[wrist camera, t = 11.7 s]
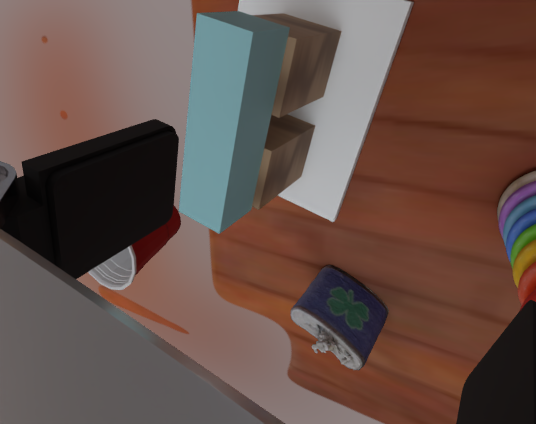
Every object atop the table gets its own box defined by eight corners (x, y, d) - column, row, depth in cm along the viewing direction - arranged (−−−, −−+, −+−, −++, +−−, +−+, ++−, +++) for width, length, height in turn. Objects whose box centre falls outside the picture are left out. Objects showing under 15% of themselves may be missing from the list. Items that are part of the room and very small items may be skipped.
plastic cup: (200, 200, 55) (133, 241, 46) (190, 258, 61) (130, 305, 52) (140, 166, 58) (67, 198, 49) (137, 225, 65) (71, 263, 55)
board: (251, -41, 39) (245, -42, 38) (414, 2, 33) (411, 2, 33) (220, 163, 51) (215, 165, 50) (336, 218, 45) (333, 222, 45)
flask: (318, 272, 50) (277, 327, 42) (330, 258, 48) (289, 311, 40) (381, 322, 48) (350, 388, 40) (395, 308, 47) (366, 375, 38)
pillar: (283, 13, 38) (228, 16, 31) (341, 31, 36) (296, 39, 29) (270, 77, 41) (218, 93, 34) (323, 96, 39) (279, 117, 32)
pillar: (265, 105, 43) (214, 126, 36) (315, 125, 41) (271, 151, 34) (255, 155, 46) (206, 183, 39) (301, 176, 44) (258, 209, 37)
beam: (239, 11, 31) (197, 13, 27) (289, 27, 29) (253, 32, 25) (213, 190, 39) (178, 211, 36) (251, 209, 38) (219, 233, 34)
